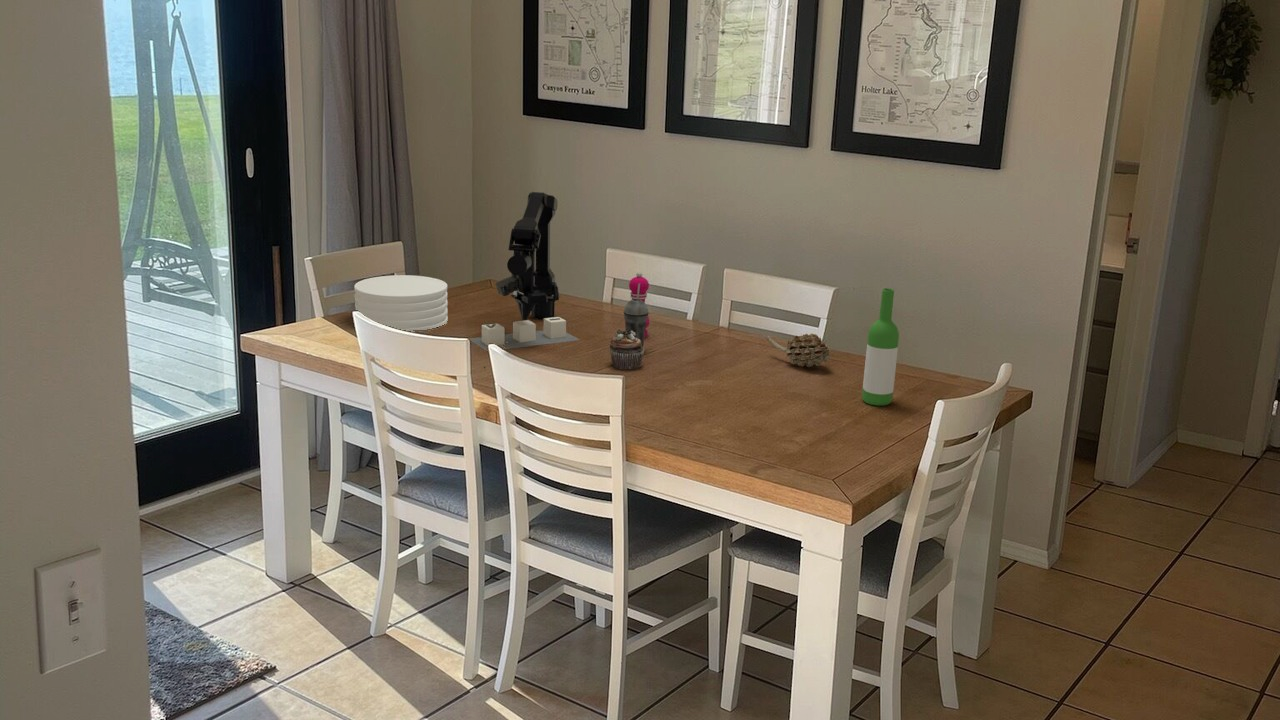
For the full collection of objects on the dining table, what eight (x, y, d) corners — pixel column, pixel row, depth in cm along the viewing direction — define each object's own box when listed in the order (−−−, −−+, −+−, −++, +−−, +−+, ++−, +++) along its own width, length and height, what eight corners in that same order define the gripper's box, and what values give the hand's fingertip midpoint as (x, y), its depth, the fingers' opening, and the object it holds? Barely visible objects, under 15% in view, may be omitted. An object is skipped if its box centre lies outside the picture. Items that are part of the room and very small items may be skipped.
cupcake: (614, 371, 317) (615, 336, 314) (605, 361, 326) (606, 326, 323) (647, 369, 319) (649, 335, 316) (638, 359, 328) (639, 325, 325)
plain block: (528, 336, 345) (528, 320, 343) (535, 340, 341) (535, 324, 339) (513, 338, 342) (513, 321, 341) (520, 342, 338) (520, 325, 337)
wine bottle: (887, 397, 304) (899, 286, 295) (895, 407, 296) (907, 293, 288) (858, 396, 304) (869, 285, 295) (865, 406, 296) (876, 292, 287)
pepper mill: (649, 333, 355) (652, 270, 349) (647, 340, 348) (650, 275, 342) (626, 332, 356) (628, 268, 350) (623, 338, 349) (626, 273, 343)
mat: (559, 330, 355) (559, 328, 355) (580, 341, 343) (580, 339, 343) (467, 340, 340) (467, 338, 340) (486, 353, 328) (486, 351, 328)
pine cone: (836, 369, 327) (839, 335, 324) (818, 376, 320) (821, 341, 317) (771, 352, 340) (773, 320, 337) (752, 359, 333) (755, 325, 330)
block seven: (497, 339, 340) (497, 322, 338) (504, 344, 336) (504, 327, 334) (481, 341, 337) (481, 324, 336) (488, 346, 333) (488, 328, 332)
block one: (558, 332, 350) (558, 316, 348) (565, 336, 346) (566, 320, 344) (543, 334, 347) (543, 317, 346) (550, 338, 343) (551, 321, 342)
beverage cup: (617, 352, 334) (619, 284, 329) (629, 346, 341) (632, 280, 335) (639, 356, 331) (642, 288, 325) (651, 350, 337) (654, 283, 332)
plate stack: (438, 335, 345) (437, 298, 342) (345, 331, 345) (343, 293, 342) (455, 311, 372) (454, 277, 368) (368, 308, 372) (367, 273, 369)
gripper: (486, 263, 339) (486, 315, 343) (512, 277, 323) (512, 330, 328) (521, 261, 344) (520, 311, 349) (548, 273, 329) (547, 326, 333)
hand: (524, 320), depth 340 cm, fingers closed
